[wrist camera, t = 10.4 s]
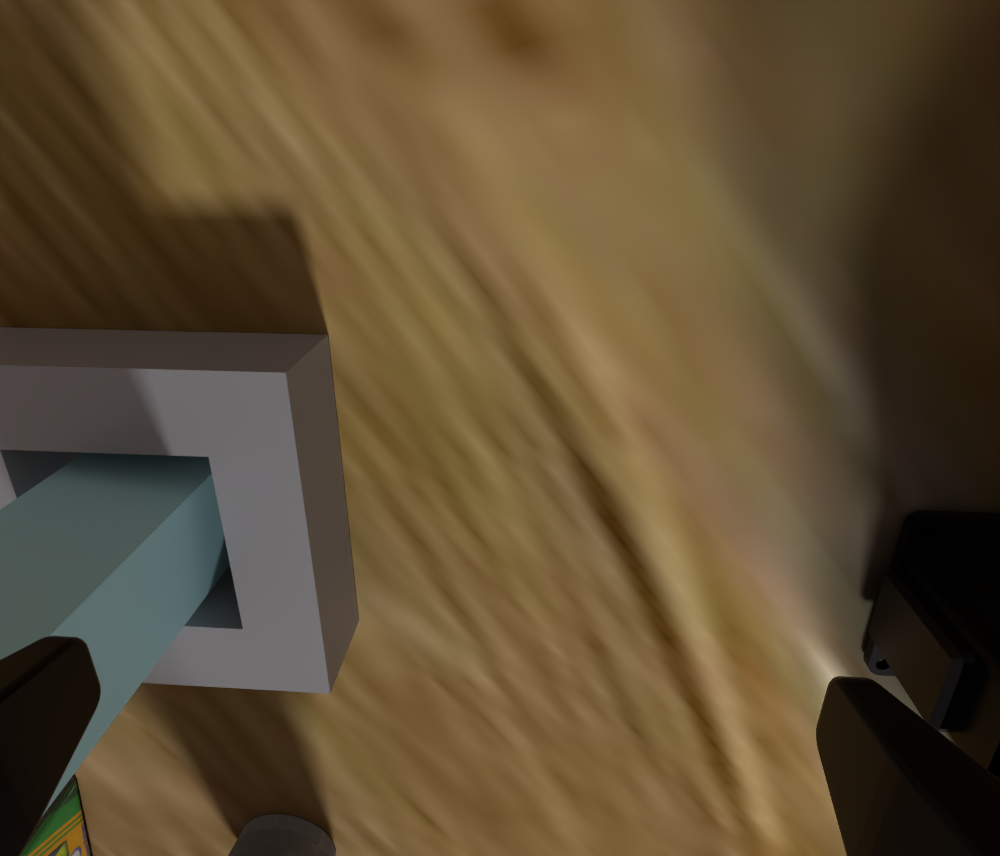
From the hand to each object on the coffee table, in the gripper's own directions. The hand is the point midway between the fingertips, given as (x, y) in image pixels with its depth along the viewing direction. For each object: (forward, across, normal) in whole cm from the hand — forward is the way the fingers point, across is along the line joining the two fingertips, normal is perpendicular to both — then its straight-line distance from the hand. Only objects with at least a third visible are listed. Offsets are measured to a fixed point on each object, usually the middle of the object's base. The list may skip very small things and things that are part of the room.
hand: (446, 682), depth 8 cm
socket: (+13, +11, +5) cm, 18 cm away
